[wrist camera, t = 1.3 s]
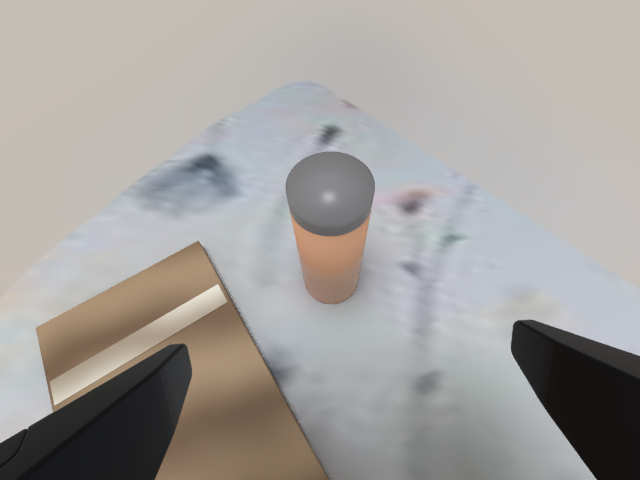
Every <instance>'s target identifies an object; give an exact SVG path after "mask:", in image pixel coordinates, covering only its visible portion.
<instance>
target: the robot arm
mask: <svg viewBox="0 0 640 480" xmlns="http://www.w3.org/2000/svg"><path fill="white" fill-rule="evenodd" d="M511 352H512V355H513V357H514V359H515V360H516V362H517V364H518V365H519V367H520V369H521V370H522V372H523V374H524V375H525V377H526V379H527V380H528V382H529V384H530V385H531V387H532V389H533V390H534V392H535V394H536V395H537V397H538V399H539V400H540V402H541V403H542V405H543V406H544V408H545V409H546V411H547V412H548V414H549V415H550V416H551V418H552V419H553V421H554V422H555V423H556V425H557V426H558V427H559V429H560V430H561V431H562V433H563V434H564V436H565V437H566V438H567V440H568V441H569V442H570V444H571V445H572V446H573V448H574V449H575V451H576V452H577V453H578V455H579V456H580V457H581V459H582V460H583V461H584V463H585V464H586V466H587V467H588V468H589V470H590V471H591V472H592V474H593V475H594V476H595V478H596V479H597V480H640V356H638V355H635V354H632V353H629V352H626V351H623V350H620V349H617V348H614V347H611V346H608V345H605V344H602V343H599V342H596V341H593V340H590V339H587V338H585V337H582V336H579V335H576V334H573V333H570V332H567V331H564V330H561V329H558V328H555V327H552V326H549V325H546V324H543V323H540V322H537V321H534V320H518V321H516V322H515V323H514V325H513V332H512V341H511ZM191 378H192V366H191V361H190V356H189V351H188V347H187V345H186V344H184V343H180V344H170V345H168V346H166V347H164V348H163V349H161V350H159V351H158V352H156V353H154V354H152V355H151V356H149V357H147V358H146V359H144V360H142V361H140V362H139V363H137V364H135V365H134V366H132V367H130V368H129V369H127V370H125V371H123V372H122V373H120V374H118V375H117V376H115V377H113V378H111V379H110V380H108V381H106V382H105V383H103V384H101V385H99V386H98V387H96V388H94V389H93V390H91V391H89V392H87V393H86V394H84V395H82V396H81V397H79V398H77V399H75V400H74V401H72V402H70V403H69V404H67V405H65V406H63V407H62V408H60V409H58V410H57V411H55V412H53V413H51V414H50V415H48V416H46V417H45V418H43V419H41V420H39V421H38V422H36V423H34V424H33V425H31V426H29V428H28V430H27V429H24V430H22V431H20V432H19V433H17V434H15V435H14V436H12V437H10V438H9V439H7V440H5V441H3V442H2V443H0V480H155V478H156V476H157V473H158V471H159V469H160V466H161V464H162V462H163V459H164V457H165V455H166V452H167V450H168V447H169V445H170V443H171V440H172V438H173V435H174V433H175V430H176V427H177V424H178V421H179V417H180V414H181V411H182V408H183V404H184V401H185V398H186V394H187V391H188V388H189V385H190V381H191Z"/></svg>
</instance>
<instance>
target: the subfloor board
mask: <svg viewBox="0 0 640 480" xmlns="http://www.w3.org/2000/svg"><path fill="white" fill-rule="evenodd" d="M36 331H37V336H38V341H39V346H40V350H41V355H42V360H43V365H44V370H45V375H46V379H47V384H48V389H49V394H50V399H51V403H52V408H53V412H55V411H57V410H58V409H60V408H62V407H63V406H65V405H67V404H69V403H70V402H72V401H74V400H75V399H77V398H79V397H81V396H82V395H84V394H86V393H87V392H89V391H91V390H93V389H94V388H96V387H98V386H99V385H101V384H103V383H105V382H106V381H108V380H110V379H111V378H113V377H115V376H117V375H118V374H120V373H122V372H123V371H125V370H127V369H129V368H130V367H132V366H134V365H135V364H137V363H139V362H140V361H142V360H144V359H146V358H147V357H149V356H151V355H152V354H154V353H156V352H158V351H159V350H161V349H163V348H164V347H166V346H168V345H170V344H180V343H184V344H186V345H187V347H188V351H189V356H190V361H191V366H192V378H191V381H190V385H189V388H188V391H187V394H186V398H185V401H184V404H183V408H182V411H181V414H180V417H179V421H178V424H177V427H176V430H175V433H174V435H173V438H172V440H171V443H170V445H169V447H168V450H167V452H166V455H165V457H164V459H163V462H162V464H161V466H160V469H159V471H158V473H157V476H156V478H155V480H329V479H328V477H327V475H326V473H325V472H324V470H323V468H322V466H321V464H320V462H319V460H318V459H317V457H316V455H315V453H314V451H313V449H312V448H311V446H310V444H309V442H308V440H307V438H306V436H305V435H304V433H303V431H302V429H301V427H300V425H299V424H298V422H297V420H296V418H295V416H294V414H293V412H292V411H291V409H290V407H289V405H288V403H287V401H286V400H285V398H284V396H283V394H282V392H281V390H280V388H279V387H278V385H277V383H276V381H275V379H274V377H273V376H272V374H271V372H270V370H269V368H268V366H267V364H266V363H265V361H264V359H263V357H262V355H261V353H260V351H259V350H258V348H257V346H256V344H255V342H254V340H253V339H252V337H251V335H250V333H249V331H248V329H247V327H246V326H245V324H244V322H243V320H242V318H241V316H240V315H239V313H238V311H237V309H236V307H235V305H234V303H233V302H232V300H231V298H230V296H229V294H228V292H227V291H226V289H225V287H224V285H223V283H222V281H221V279H220V278H219V276H218V274H217V272H216V270H215V268H214V267H213V265H212V263H211V261H210V259H209V257H208V255H207V254H206V252H205V250H204V248H203V246H202V245H201V244H200V243H199V241H197V242H195V243H194V244H192V245H190V246H188V247H186V248H184V249H182V250H180V251H179V252H177V253H175V254H173V255H171V256H169V257H167V258H165V259H164V260H162V261H160V262H158V263H156V264H154V265H152V266H151V267H149V268H147V269H145V270H143V271H141V272H139V273H137V274H136V275H134V276H132V277H130V278H128V279H126V280H124V281H123V282H121V283H119V284H117V285H115V286H113V287H111V288H109V289H108V290H106V291H104V292H102V293H100V294H98V295H96V296H95V297H93V298H91V299H89V300H87V301H85V302H83V303H81V304H80V305H78V306H76V307H74V308H72V309H70V310H68V311H66V312H65V313H63V314H61V315H59V316H57V317H55V318H53V319H52V320H50V321H48V322H46V323H44V324H42V325H40V326H38V327H37V328H36Z"/></svg>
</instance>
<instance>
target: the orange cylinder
mask: <svg viewBox="0 0 640 480" xmlns="http://www.w3.org/2000/svg"><path fill="white" fill-rule="evenodd" d="M374 191H375V182H374V178H373V175H372V173H371V171H370V170H369V168H368V167H367V166H366V165H365V164H364V163H363V162H361V161H360V160H359V159H357V158H355V157H353V156H351V155H348V154H345V153H340V152H322V153H317V154H314V155H311V156H309V157H306V158H305V159H303V160H301V161H300V162H299V163H297V164H296V165H295V166H294V167H293V169H292V170H291V172H290V173H289V175H288V178H287V181H286V194H287V199H288V204H289V209H290V214H291V218H292V223H293V228H294V233H295V238H296V242H297V247H298V252H299V257H300V262H301V267H302V271H303V276H304V281H305V285H306V288H307V290H308V292H309V293H310V295H311V296H312V297H313V298H315V299H316V300H318V301H320V302H322V303H326V304H337V303H341V302H343V301H345V300H347V299H348V298H349V297H350V296H351V295H352V294H353V293H354V291H355V290H356V287H357V284H358V279H359V273H360V268H361V262H362V257H363V251H364V246H365V240H366V235H367V229H368V224H369V218H370V213H371V208H372V202H373V197H374Z"/></svg>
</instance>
